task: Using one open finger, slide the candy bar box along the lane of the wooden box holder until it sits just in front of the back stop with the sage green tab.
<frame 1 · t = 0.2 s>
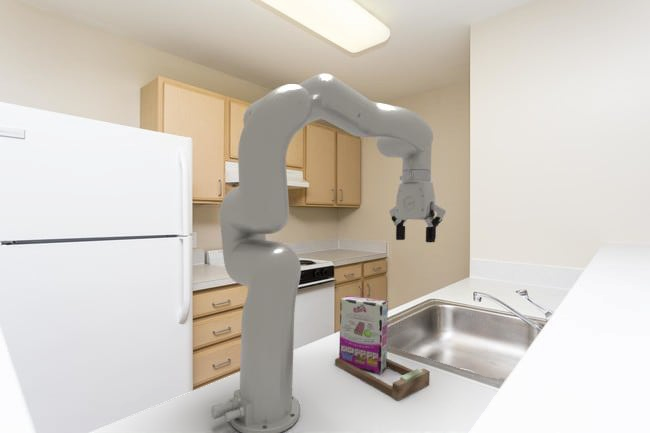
hand: (414, 241, 87), 31 cm above the counter, tool pointing down, fingers open, 9 cm apart
wooden box holder: (380, 374, 75), on the counter
candy bar box: (362, 366, 80), on the counter
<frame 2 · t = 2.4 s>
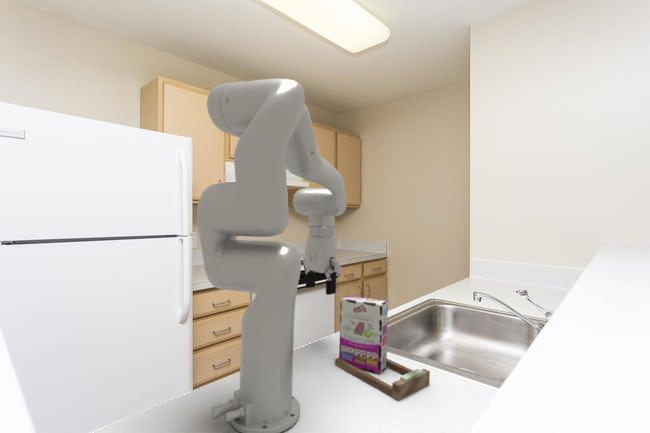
hand: (320, 290, 95), 15 cm above the counter, tool pointing down, fingers open, 9 cm apart
nothing on the counter moved.
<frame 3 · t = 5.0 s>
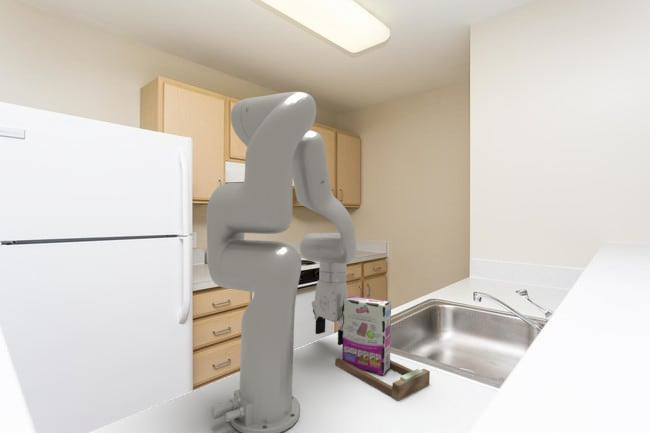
hand: (331, 338, 90), 3 cm above the counter, tool pointing down, fingers open, 9 cm apart
candy bar box: (365, 367, 79), on the counter, touching gripper
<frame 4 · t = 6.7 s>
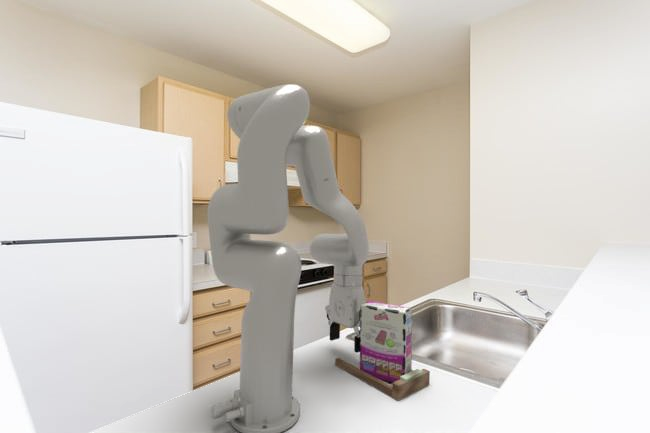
hand: (346, 345, 85), 3 cm above the counter, tool pointing down, fingers open, 9 cm apart
candy bar box: (385, 376, 75), on the counter, touching gripper
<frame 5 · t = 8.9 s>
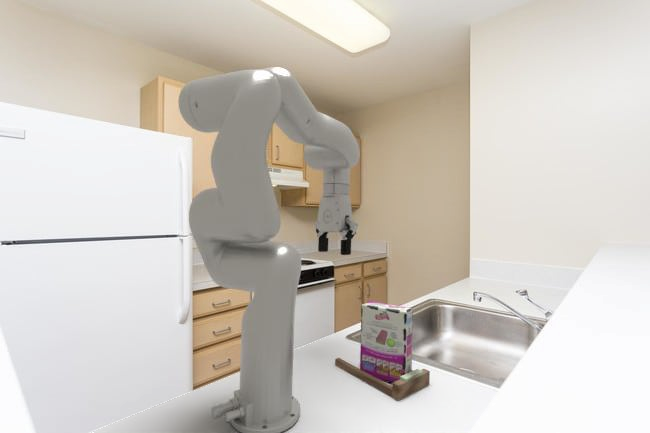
hand: (333, 253, 89), 27 cm above the counter, tool pointing down, fingers open, 9 cm apart
candy bar box: (385, 377, 75), on the counter
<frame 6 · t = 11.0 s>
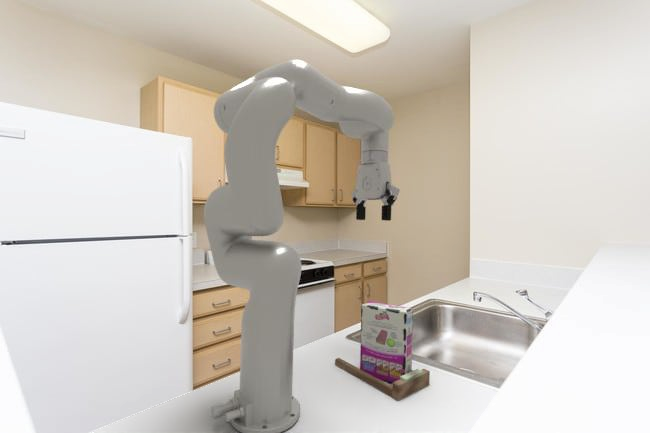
hand: (372, 220, 91), 36 cm above the counter, tool pointing down, fingers open, 9 cm apart
nothing on the counter moved.
at the end: candy bar box 0.5 cm off-centre on the wooden box holder, point 0.0 cm above the wooden box holder's base; candy bar box tilted 0°; candy bar box moved 7.2 cm from its start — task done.
